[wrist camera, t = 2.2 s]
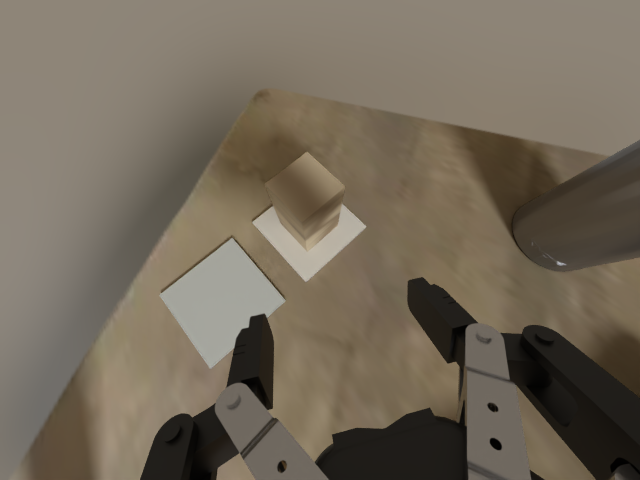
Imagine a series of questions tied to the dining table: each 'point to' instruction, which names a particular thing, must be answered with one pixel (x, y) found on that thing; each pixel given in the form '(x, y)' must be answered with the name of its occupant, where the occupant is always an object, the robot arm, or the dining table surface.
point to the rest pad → (220, 300)
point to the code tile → (316, 256)
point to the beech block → (306, 200)
